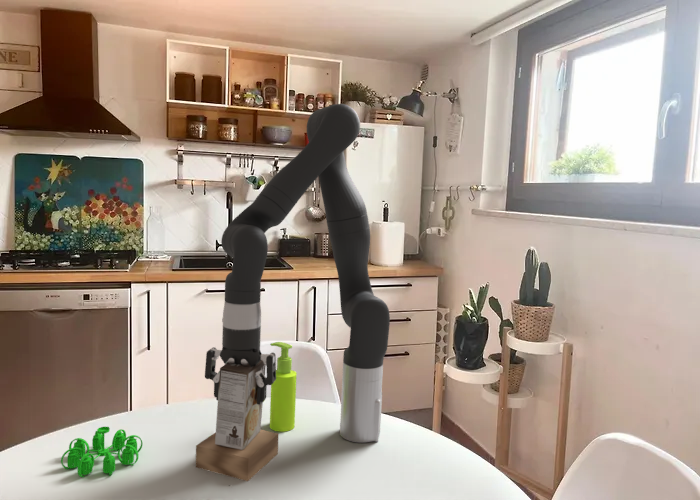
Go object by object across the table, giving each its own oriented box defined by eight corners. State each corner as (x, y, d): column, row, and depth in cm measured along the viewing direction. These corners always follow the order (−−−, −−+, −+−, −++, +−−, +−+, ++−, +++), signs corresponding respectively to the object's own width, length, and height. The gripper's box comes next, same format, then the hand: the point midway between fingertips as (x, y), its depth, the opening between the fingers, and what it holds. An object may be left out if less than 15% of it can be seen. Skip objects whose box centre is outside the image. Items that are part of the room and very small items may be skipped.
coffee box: (233, 425, 115) (239, 353, 113) (261, 431, 114) (267, 358, 112) (213, 444, 106) (219, 367, 104) (243, 451, 105) (250, 372, 103)
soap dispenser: (278, 417, 132) (281, 338, 130) (299, 425, 128) (302, 344, 126) (261, 425, 127) (263, 343, 125) (282, 434, 123) (285, 349, 121)
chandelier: (43, 476, 101) (42, 441, 101) (93, 440, 116) (93, 410, 115) (115, 486, 99) (115, 451, 98) (157, 449, 114) (157, 418, 113)
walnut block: (277, 456, 114) (278, 433, 113) (247, 483, 103) (248, 458, 102) (229, 444, 118) (230, 422, 117) (195, 469, 107) (196, 445, 106)
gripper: (281, 322, 110) (278, 398, 112) (215, 316, 112) (213, 391, 114) (270, 330, 103) (268, 412, 104) (200, 324, 105) (198, 404, 106)
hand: (239, 401), depth 109 cm, fingers open, 8 cm apart
